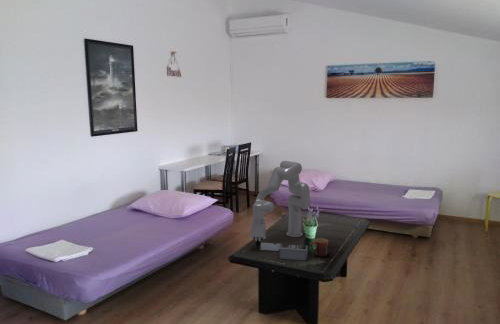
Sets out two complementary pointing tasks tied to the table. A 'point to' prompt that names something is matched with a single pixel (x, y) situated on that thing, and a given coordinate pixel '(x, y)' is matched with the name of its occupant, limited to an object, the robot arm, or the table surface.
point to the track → (268, 250)
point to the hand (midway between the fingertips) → (258, 246)
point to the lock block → (293, 246)
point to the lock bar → (270, 246)
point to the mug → (320, 247)
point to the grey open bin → (293, 253)
